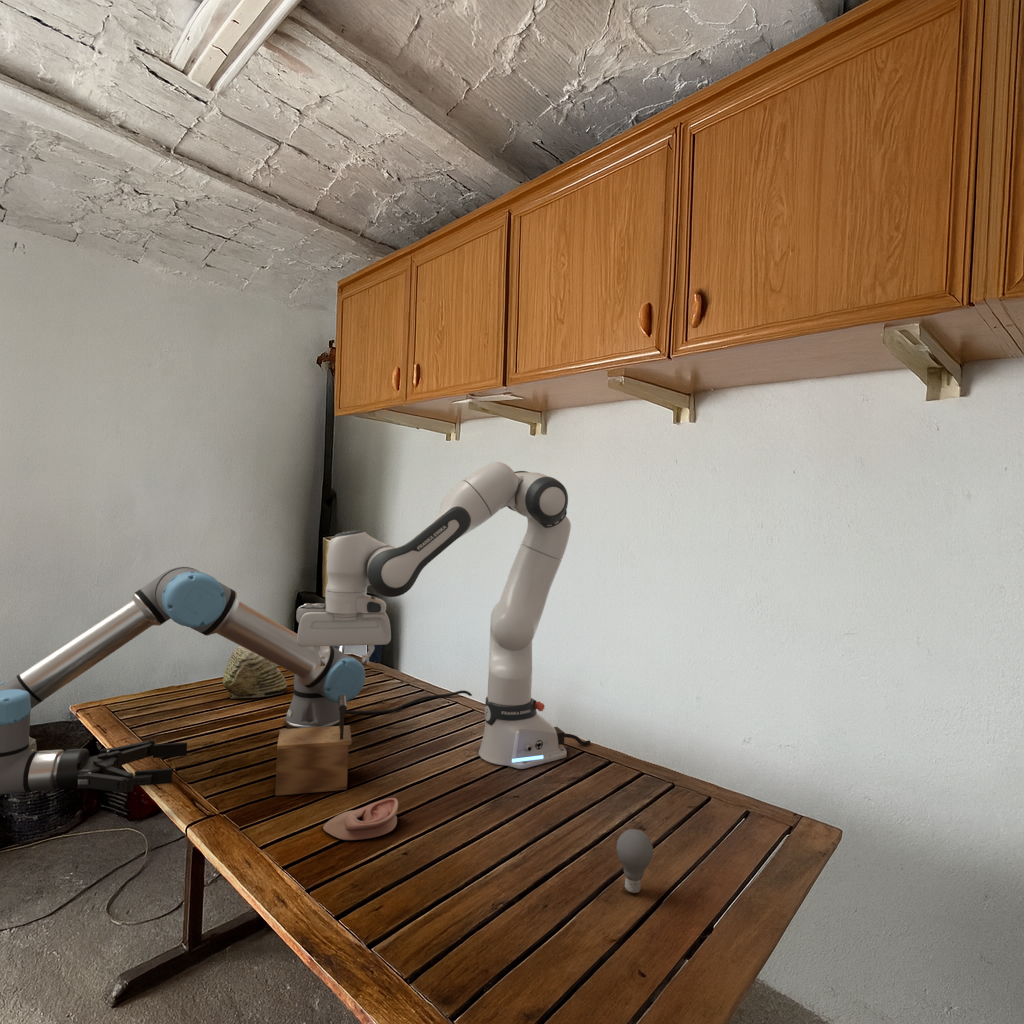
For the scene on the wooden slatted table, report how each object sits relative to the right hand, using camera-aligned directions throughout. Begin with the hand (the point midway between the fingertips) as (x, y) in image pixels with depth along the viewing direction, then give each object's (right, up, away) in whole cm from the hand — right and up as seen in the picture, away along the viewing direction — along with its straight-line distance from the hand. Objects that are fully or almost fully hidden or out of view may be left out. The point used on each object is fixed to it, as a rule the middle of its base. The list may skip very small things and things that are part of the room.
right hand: (343, 664), depth 141 cm
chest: (-7, -26, -1) cm, 27 cm away
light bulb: (+58, -29, -36) cm, 74 cm away
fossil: (-43, -23, +57) cm, 75 cm away
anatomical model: (+8, -27, -19) cm, 34 cm away
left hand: (-32, -18, -9) cm, 38 cm away
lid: (-6, -16, -1) cm, 17 cm away
